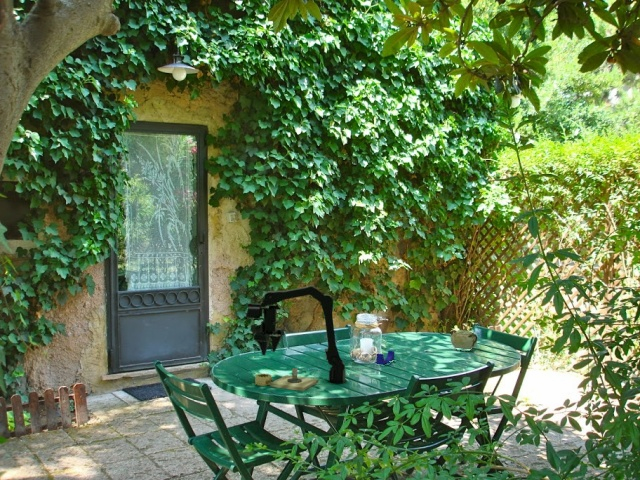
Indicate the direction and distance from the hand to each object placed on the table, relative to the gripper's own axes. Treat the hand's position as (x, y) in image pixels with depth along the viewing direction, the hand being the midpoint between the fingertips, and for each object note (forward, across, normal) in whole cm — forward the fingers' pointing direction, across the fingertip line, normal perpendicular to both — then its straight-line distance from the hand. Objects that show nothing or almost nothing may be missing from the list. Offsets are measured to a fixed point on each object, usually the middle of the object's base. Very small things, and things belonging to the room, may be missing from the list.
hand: (268, 353), depth 286 cm
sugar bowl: (+11, -115, +64) cm, 132 cm away
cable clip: (+12, -59, +36) cm, 71 cm away
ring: (+12, +6, +1) cm, 14 cm away
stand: (+12, 0, +14) cm, 18 cm away
